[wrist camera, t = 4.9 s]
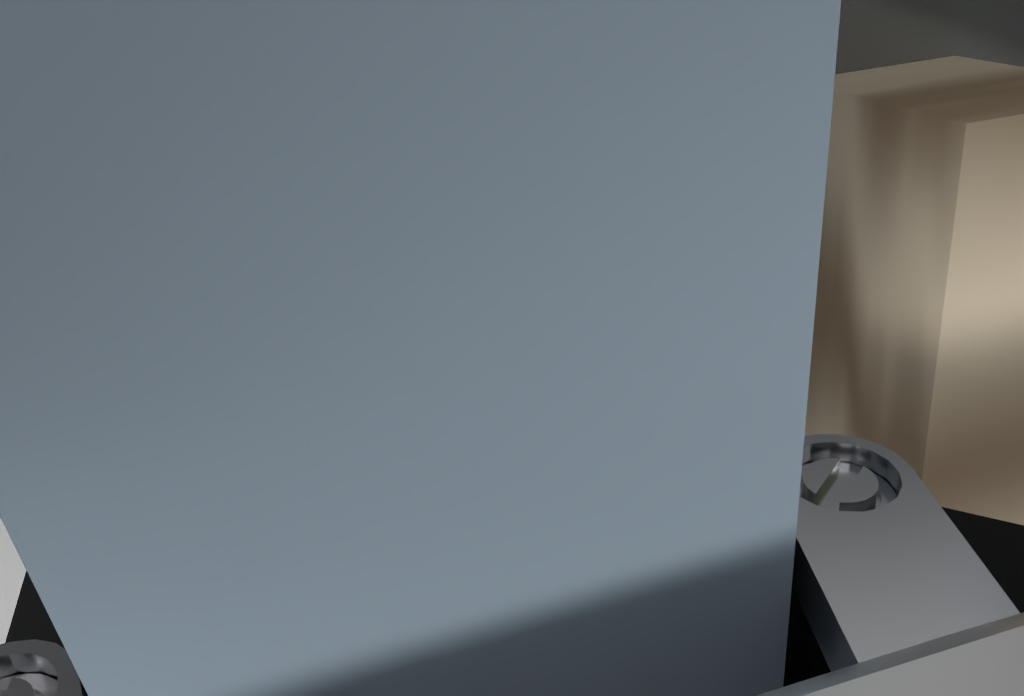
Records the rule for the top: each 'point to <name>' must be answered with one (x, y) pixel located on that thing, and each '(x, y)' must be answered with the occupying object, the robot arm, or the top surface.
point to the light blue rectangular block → (411, 339)
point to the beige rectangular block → (927, 277)
